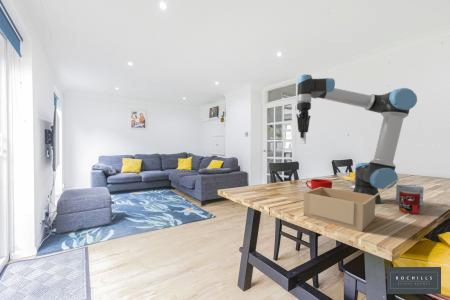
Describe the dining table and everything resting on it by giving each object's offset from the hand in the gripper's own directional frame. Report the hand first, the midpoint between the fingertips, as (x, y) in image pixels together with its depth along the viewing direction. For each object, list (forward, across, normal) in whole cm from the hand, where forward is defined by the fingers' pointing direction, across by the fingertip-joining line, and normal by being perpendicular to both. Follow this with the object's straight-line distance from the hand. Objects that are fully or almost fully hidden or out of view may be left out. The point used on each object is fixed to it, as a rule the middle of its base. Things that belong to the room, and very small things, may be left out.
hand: (302, 143), depth 121 cm
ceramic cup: (+35, -25, -1) cm, 43 cm away
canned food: (+35, -26, +45) cm, 62 cm away
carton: (+34, +11, +24) cm, 43 cm away
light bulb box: (+35, -47, +43) cm, 73 cm away
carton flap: (+19, +11, +40) cm, 46 cm away
